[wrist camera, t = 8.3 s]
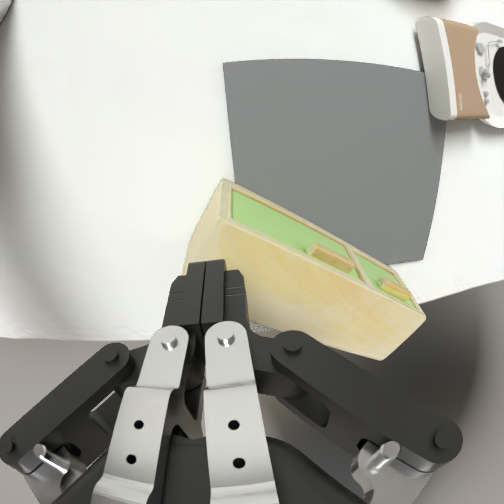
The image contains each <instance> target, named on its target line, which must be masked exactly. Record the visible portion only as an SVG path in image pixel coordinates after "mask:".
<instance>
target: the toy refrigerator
mask: <svg viewBox="0 0 504 504" xmlns="http://www.w3.org/2000/svg"><path fill="white" fill-rule="evenodd" d="M218 259H225V262H226V267H227V271H228V270H237V269H238V270H239V271H240V272H241V274H242V275H243V276H244V282H245V289H246V296H247V302H248V314H249V321H251V322H254V323H257V324H260V325H263V326H266V327H269V328H272V329H275V330H278V331H281V332H285V331H289V330H298V331H302V332H304V333H306V334H308V335H310V336H311V337H313V338H314V339H316V340H317V341H319V342H320V343H322V344H324V345H326V346H330V347H333V348H336V349H340V350H343V351H346V352H350V353H354V354H358V355H361V356H365V357H368V358H372V359H376V360H383V359H384V358H386V357H387V356H388V355H389V354H391V353H392V352H393V351H394V350H395V349H396V348H397V347H398V346H399V345H400V344H402V343H403V342H404V341H405V340H406V339H407V338H408V337H409V336H410V335H411V334H412V333H413V332H414V331H415V330H416V329H417V328H418V327H419V326H420V325H421V324H422V323H423V322H424V321H425V319H426V316H425V314H424V313H423V311H422V309H421V308H420V306H419V305H418V303H417V302H416V300H415V299H414V297H413V296H412V294H411V292H410V291H409V290H408V288H407V287H406V285H405V284H404V282H403V281H402V279H401V278H400V276H399V275H398V274H397V272H396V271H395V270H394V269H392V268H390V267H389V266H387V265H385V264H384V263H382V262H380V261H378V260H377V259H375V258H373V257H372V256H370V255H368V254H367V253H365V252H363V251H361V250H360V249H358V248H356V247H354V246H353V245H351V244H349V243H347V242H345V241H344V240H342V239H340V238H338V237H337V236H335V235H333V234H331V233H329V232H327V231H326V230H324V229H322V228H320V227H318V226H317V225H315V224H313V223H311V222H309V221H307V220H306V219H304V218H302V217H300V216H298V215H296V214H294V213H293V212H291V211H289V210H287V209H285V208H283V207H281V206H279V205H277V204H275V203H273V202H272V201H270V200H268V199H266V198H264V197H262V196H260V195H258V194H256V193H254V192H252V191H250V190H248V189H246V188H244V187H242V186H240V185H238V184H236V183H234V182H231V181H229V180H227V179H224V178H223V179H221V181H220V183H219V184H218V186H217V188H216V190H215V192H214V194H213V196H212V198H211V199H210V201H209V203H208V205H207V207H206V209H205V211H204V213H203V215H202V216H201V218H200V220H199V222H198V224H197V226H196V228H195V230H194V232H193V234H192V236H191V238H190V242H189V245H188V250H187V254H186V258H185V263H184V267H183V271H182V276H183V275H186V274H187V268H188V264H189V263H192V262H201V261H209V260H218Z"/></svg>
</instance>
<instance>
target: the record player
mask: <svg viewBox="0 0 504 504" xmlns="http://www.w3.org/2000/svg"><path fill="white" fill-rule="evenodd" d="M415 26H416V30H417V34H418V39H419V44H420V48H421V54H422V59H423V65H424V71H425V77H426V84H427V92H428V101H429V110H430V112H431V114H432V115H433V116H434V117H436V118H437V119H440V120H462V119H479V120H480V121H482V122H483V123H485V124H487V125H490V126H493V127H497V128H504V28H502V27H499V26H496V25H493V24H490V23H487V22H472V23H468V24H467V25H466V24H462V23H458V22H454V21H449V20H445V19H440V18H435V17H429V16H425V17H421V18H419V19H418V20H417V21H416V24H415Z"/></svg>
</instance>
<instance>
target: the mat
mask: <svg viewBox="0 0 504 504" xmlns="http://www.w3.org/2000/svg"><path fill="white" fill-rule="evenodd" d="M223 70H224V80H225V90H226V100H227V110H228V120H229V129H230V139H231V148H232V158H233V167H234V176H235V183H236V184H238V185H240V186H242V187H244V188H246V189H248V190H250V191H252V192H254V193H256V194H258V195H260V196H262V197H264V198H266V199H268V200H270V201H272V202H273V203H275V204H277V205H279V206H281V207H283V208H285V209H287V210H289V211H291V212H293V213H294V214H296V215H298V216H300V217H302V218H304V219H306V220H307V221H309V222H311V223H313V224H315V225H317V226H318V227H320V228H322V229H324V230H326V231H327V232H329V233H331V234H333V235H335V236H337V237H338V238H340V239H342V240H344V241H345V242H347V243H349V244H351V245H353V246H354V247H356V248H358V249H360V250H361V251H363V252H365V253H367V254H368V255H370V256H372V257H373V258H375V259H377V260H378V261H380V262H382V263H384V264H385V265H388V264H395V263H403V262H410V261H417V260H423V257H424V253H425V250H426V246H427V241H428V237H429V233H430V228H431V224H432V219H433V214H434V209H435V204H436V198H437V192H438V186H439V180H440V173H441V165H442V157H443V148H444V137H445V122H446V120H440V119H437V118H436V117H434V116H433V115H432V114H431V112H430V110H429V101H428V92H427V84H426V77H425V72H420V71H415V70H410V69H405V68H399V67H393V66H386V65H379V64H372V63H363V62H353V61H341V60H323V59H267V60H249V61H237V62H227V63H223Z"/></svg>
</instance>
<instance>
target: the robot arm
mask: <svg viewBox="0 0 504 504" xmlns="http://www.w3.org/2000/svg"><path fill="white" fill-rule="evenodd" d="M11 2H12V0H0V23H1V21H2V19H3V18H4V16H5V14H6V13H7V11H8V8H9V6H10V4H11ZM169 294H170V295H169V297H168V302H167V306H166V311H165V315H164V320H163V325H162V328H161V329H159V330H158V331H157V332H155V333H154V334H153V336H152V337H151V340H150V343H149V344H148V345H146V346H143V347H140V348H136V349H133V350H130V351H129V350H128V348H127V347H126V346H125V345H124V344H122V343H111V344H108V345H106V346H104V347H103V348H101V349H100V350H99V351H98V352H97V353H96V354H94V355H93V356H92V357H91V358H90V359H88V360H87V361H86V362H85V363H84V364H83V365H81V366H80V367H79V368H78V369H77V370H76V371H74V372H73V373H72V374H71V375H70V376H69V377H67V378H66V379H65V380H64V381H63V382H62V383H61V384H59V385H58V386H57V387H56V388H55V389H54V390H52V391H51V392H50V393H49V394H48V395H47V396H46V397H44V398H43V399H42V400H41V401H40V402H39V403H38V404H36V405H35V406H34V407H33V408H32V409H31V410H30V411H28V412H27V413H26V414H25V415H24V416H23V417H22V418H21V419H20V420H19V421H17V422H16V423H15V424H14V425H13V426H12V427H11V428H9V429H8V430H7V431H6V432H5V433H4V434H3V435H2V436H1V438H0V458H1V460H2V461H3V462H4V463H6V464H7V465H9V466H11V467H12V468H14V469H16V470H18V471H19V472H20V473H21V474H23V476H24V478H25V480H26V481H27V483H28V485H29V487H30V488H31V490H32V491H33V493H34V495H35V497H36V498H37V500H38V501H39V503H40V504H412V503H413V501H414V500H415V499H416V497H417V496H418V495H419V493H420V492H421V490H422V489H423V487H424V486H425V484H426V483H427V482H428V480H429V479H430V477H431V475H432V474H433V473H434V472H435V471H436V470H437V469H439V468H440V467H442V466H443V465H445V464H447V463H448V462H450V461H451V460H452V459H454V458H455V457H456V456H457V455H458V453H459V452H460V450H461V447H462V443H463V437H462V433H461V430H460V428H459V427H458V426H457V425H456V424H455V423H454V422H452V421H451V420H449V419H447V418H445V417H443V416H442V415H440V414H438V413H436V412H435V411H433V410H431V409H429V408H428V407H426V406H424V405H422V404H420V403H419V402H417V401H415V400H414V399H412V398H410V397H408V396H407V395H405V394H403V393H402V392H400V391H398V390H397V389H395V388H393V387H391V386H390V385H388V384H386V383H385V382H383V381H382V380H380V379H378V378H377V377H375V376H373V375H372V374H370V373H368V372H367V371H365V370H363V369H362V368H360V367H359V366H357V365H355V364H354V363H352V362H351V361H349V360H347V359H346V358H344V357H342V356H341V355H339V354H338V353H336V352H335V351H333V350H331V349H330V348H328V347H327V346H325V345H324V344H322V343H320V342H319V341H317V340H316V339H314V338H313V337H311V336H310V335H308V334H306V333H304V332H302V331H298V330H289V331H285V332H282V333H280V334H278V335H277V336H276V337H275V338H267V337H262V336H259V335H257V334H255V333H254V332H252V331H251V330H250V327H249V314H248V302H247V296H246V289H245V282H244V276H243V275H242V274H241V272H240V271H239V270H238V269H237V270H228V271H227V267H226V262H225V259H218V260H209V261H201V262H192V263H189V264H188V268H187V274H186V275H183V276H178V277H177V278H176V279H175V280H174V282H173V283H172V284H171V288H170V293H169ZM205 365H206V377H207V388H205V386H206V378H205V376H204V374H205ZM113 390H115V393H114V394H112V395H111V396H110V397H109V398H108V399H107V400H106V401H105V402H104V403H103V404H101V405H100V406H99V407H98V408H97V409H96V410H95V411H92V412H91V410H92V409H93V408H94V407H96V406H97V405H98V404H99V403H100V402H101V401H102V400H103V399H104V398H105V397H107V396H108V395H109V394H110V393H111V392H112V391H113ZM258 393H260V394H266V395H271V396H275V397H276V398H277V399H278V401H279V402H281V403H282V404H283V405H284V406H286V407H287V408H288V409H290V410H291V411H292V412H293V413H294V414H296V415H297V416H298V417H300V418H301V419H302V420H304V421H305V422H306V423H307V424H309V425H310V426H312V427H313V428H314V429H315V430H317V431H318V432H319V433H321V434H322V435H324V436H325V437H326V438H328V439H329V440H330V441H332V442H333V443H335V444H336V445H338V446H339V447H340V448H342V449H343V450H345V451H346V452H348V453H349V454H351V455H352V456H354V457H355V458H354V459H353V462H352V464H351V473H352V476H353V478H354V479H355V480H356V481H357V482H358V483H359V484H360V485H361V487H362V488H363V490H364V496H365V497H364V500H363V499H361V498H360V497H358V496H357V495H355V494H354V493H352V492H351V491H350V490H349V489H347V488H346V487H344V486H343V485H342V484H341V483H339V482H338V481H337V480H335V479H334V478H333V477H331V476H330V475H329V474H327V473H326V472H325V471H324V470H322V469H321V468H320V467H319V466H317V465H316V464H315V463H314V462H313V461H311V460H310V459H309V458H308V457H307V456H305V455H304V454H303V453H302V452H301V451H299V450H298V449H296V448H295V447H293V446H292V445H290V444H288V443H286V442H284V441H281V440H278V439H275V438H271V437H266V436H265V431H264V425H263V420H262V415H261V409H260V404H259V399H258ZM203 403H204V414H205V429H206V437H203V433H202V428H201V420H202V411H203ZM104 451H105V452H104ZM103 452H104V453H103ZM102 453H103V454H102ZM101 454H102V455H101ZM100 455H101V456H100ZM99 456H100V457H99ZM98 457H99V458H98ZM97 458H98V459H97ZM96 459H97V460H96ZM95 460H96V461H95ZM93 461H95V462H94V463H93V464H92V465H91V466H90V467H89V468H88V469H86V468H87V467H88V466H89V465H90V464H91V463H92V462H93Z"/></svg>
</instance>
